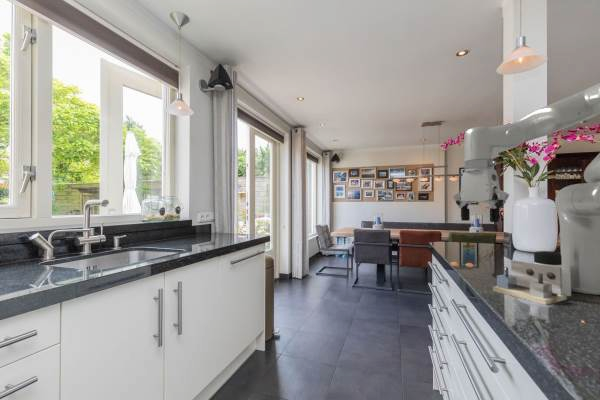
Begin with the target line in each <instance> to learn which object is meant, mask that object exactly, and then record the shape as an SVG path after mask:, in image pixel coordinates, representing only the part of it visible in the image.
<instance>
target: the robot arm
mask: <svg viewBox="0 0 600 400" xmlns="http://www.w3.org/2000/svg"><path fill="white" fill-rule="evenodd" d="M598 115H600V82H599V83H597V84H595V85H592V86H590V87H588V88H586V89H584V90H582V91H579V92H577V93H574V94H573V95H570V96H568V97H567V96H566V97H564V98H562V99H559V100H558V101H556V102H554V103H550V104H548V105H546V106H543V107H542V108H540V109H538V110H536V111H533V112H532V113H530V114H528V115H525V117H523V118H521V119H518V120H517V121H514V122H512V123H506V124H501V125H495V126H475V127H471V128H468V129H467V130H466V131H464V134H463V135H464V137H463V138H464V139H463V140H464V141H463V143H464V145H463V147H464V171H463V172H462V177H461V182H460V183H461V185H460V191H458V192H457V193H455V194H454V195H453V196H452V197H453V199H454V201H455V203H456V205H457V206H458V208H459V209H460V218H461V221H464V222H465V221H466V222H467V221H469V220H470V216H471V215H470V214H471V213H470V208H469V206H470V205H471V204H472V203H487V204H488V205H489V206H490V207H491V208H489V221H490V222H491V223H499V221H500V210H501V209H502V207H503V206H504V205H505V203H507V200H508V198H509V196H510V194H509V193H508V192H506V191H503V190H501V189H500V183H499V176H498V172H497V171H496V169H493V168H494V166H497V163H498V162H497V160H494V159H493V158H494V157H493V155H496V154H500V153H502V152H506V151H509V150H513V149H514V148H517V147H518V146H520V145H522V144H524V143H527V142H530V141H532V140H535V139H538V138H539V139H540V138H543V137H546V136H548V135H552V134H554V133H556V132H559V131H562V130H565V129H566V128H570V127H571V126H574V125H576V124H579V123H581V122H584V121H586V120H588V119H591V118H594V117H596V116H598ZM583 178H584V179H583V180H584V181H585V182H583V183H576V184H570V185H567V186H564V187H563V188H561V189H560V190H559V191H558V192H557V193H556V195H555V199H554V201H555V202H554V205H555V208H556V211H557V215H558V220H559V235H560V237H559V239H560V240H559V241H560V242H559V243H560V245H559V246H560V255H561V257H562V267H561V268H562V269H563V270H566V271H569V272H570V273H571V292H575V293H579V294H580V293H581V294H586V295H595V296H596V295H598V296H600V152H599V153H598V154H597V155H596V156H595V158H593V160H591V162H590V163H589V164H588V165H587V166H586V168H585V170H584V172H583Z"/></svg>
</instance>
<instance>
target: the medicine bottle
mask: <svg viewBox="0 0 600 400" xmlns="http://www.w3.org/2000/svg"><path fill="white" fill-rule="evenodd" d="M533 260H534V261H533V262H534V263H533V264H540V265H546V266H552V267H559V268H561V267H562V257H561V253H559V252H555V251H548V250H546V251H545V250H539V251H538V250H537V251H535V252H534V253H533ZM562 294H565V295H567V297H572V291H571V273H570V272H569V271H566V270H563V269H562Z"/></svg>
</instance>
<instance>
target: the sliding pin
mask: <svg viewBox="0 0 600 400" xmlns="http://www.w3.org/2000/svg"><path fill="white" fill-rule="evenodd" d="M496 286H498V287H502V288H506V289H511V288H516V287H517V284H516V276H512V275H511V274H509V267H508V266H504V274H498V275H496Z"/></svg>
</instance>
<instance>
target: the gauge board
mask: <svg viewBox="0 0 600 400" xmlns="http://www.w3.org/2000/svg"><path fill="white" fill-rule="evenodd" d="M510 273H511V274H510V275H512V276H516V284H517V287H516V288H511V289H506V288H502V287H498V286H497V285H495V286H492V292H494V293H495V292H496V293H500V294H503V295H508V296H510V297H513V298H514V297H515V298H518V299H522V300H525V299H526V300H527V301H528V302H533V303H537V304H540V305H544V306H546V305H551V304H555V303H559V302H563V301H566V300H568V296H567V295H565V294H562V268H559V267H552V266H546V265H540V264H534V263H532V262H526V261H519V260H512V259H511V260H510Z"/></svg>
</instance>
